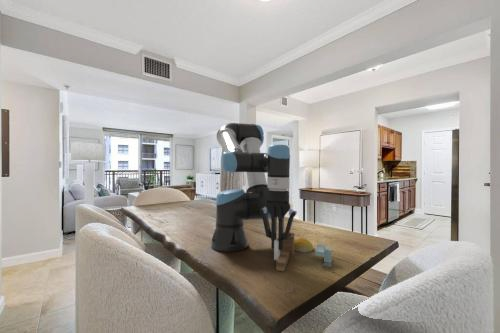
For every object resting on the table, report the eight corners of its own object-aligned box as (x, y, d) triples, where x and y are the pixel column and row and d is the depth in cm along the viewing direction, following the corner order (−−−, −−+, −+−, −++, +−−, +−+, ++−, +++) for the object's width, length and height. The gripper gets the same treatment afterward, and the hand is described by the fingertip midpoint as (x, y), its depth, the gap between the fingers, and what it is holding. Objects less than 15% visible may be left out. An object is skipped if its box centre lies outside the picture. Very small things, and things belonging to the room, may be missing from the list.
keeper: (315, 265, 76) (315, 251, 76) (317, 256, 83) (317, 244, 83) (331, 267, 74) (331, 253, 74) (331, 258, 81) (331, 245, 82)
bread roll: (291, 252, 88) (292, 242, 88) (292, 245, 97) (292, 235, 97) (313, 254, 86) (313, 243, 86) (312, 246, 95) (312, 237, 95)
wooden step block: (288, 271, 71) (288, 246, 71) (272, 269, 72) (272, 244, 72) (294, 254, 85) (294, 233, 85) (280, 252, 87) (280, 232, 87)
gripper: (256, 189, 76) (255, 259, 76) (294, 191, 72) (293, 266, 71) (263, 188, 83) (262, 252, 83) (298, 189, 78) (297, 258, 78)
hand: (276, 258), depth 77 cm, fingers closed
